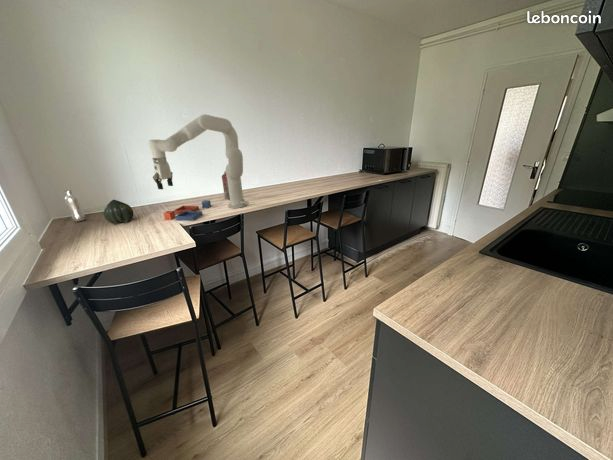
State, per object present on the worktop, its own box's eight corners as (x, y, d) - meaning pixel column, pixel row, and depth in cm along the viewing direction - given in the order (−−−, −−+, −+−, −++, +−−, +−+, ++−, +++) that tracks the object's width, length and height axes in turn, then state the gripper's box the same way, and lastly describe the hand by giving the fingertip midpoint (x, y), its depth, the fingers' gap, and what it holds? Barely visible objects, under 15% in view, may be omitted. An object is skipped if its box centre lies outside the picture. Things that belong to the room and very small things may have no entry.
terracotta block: (175, 217, 167) (174, 210, 165) (171, 219, 163) (169, 213, 161) (169, 217, 167) (167, 210, 166) (165, 219, 163) (163, 212, 162)
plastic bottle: (89, 219, 165) (77, 189, 157) (77, 223, 159) (65, 192, 151) (82, 218, 167) (71, 189, 159) (70, 222, 161) (58, 191, 153)
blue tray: (202, 214, 171) (202, 211, 170) (193, 220, 160) (193, 217, 159) (186, 214, 172) (185, 210, 171) (176, 220, 162) (175, 216, 161)
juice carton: (231, 196, 213) (227, 170, 205) (236, 197, 210) (233, 171, 201) (224, 198, 208) (220, 171, 200) (230, 199, 205) (226, 172, 196)
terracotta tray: (199, 209, 182) (198, 206, 181) (190, 214, 172) (189, 210, 171) (183, 208, 184) (182, 205, 183) (174, 213, 174) (173, 210, 173)
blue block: (211, 206, 189) (210, 200, 187) (208, 207, 185) (207, 202, 183) (205, 206, 190) (204, 200, 188) (202, 207, 186) (201, 201, 184)
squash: (123, 218, 150) (125, 195, 155) (96, 220, 148) (99, 198, 153) (136, 226, 164) (138, 205, 168) (112, 228, 162) (114, 207, 166)
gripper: (155, 162, 148) (162, 190, 155) (174, 158, 164) (179, 184, 171) (144, 162, 149) (151, 190, 156) (163, 158, 165) (169, 184, 172)
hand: (165, 187), depth 163 cm, fingers open, 9 cm apart
